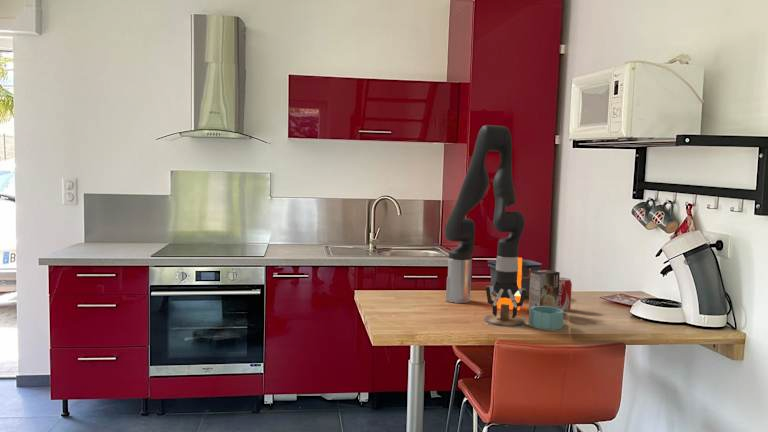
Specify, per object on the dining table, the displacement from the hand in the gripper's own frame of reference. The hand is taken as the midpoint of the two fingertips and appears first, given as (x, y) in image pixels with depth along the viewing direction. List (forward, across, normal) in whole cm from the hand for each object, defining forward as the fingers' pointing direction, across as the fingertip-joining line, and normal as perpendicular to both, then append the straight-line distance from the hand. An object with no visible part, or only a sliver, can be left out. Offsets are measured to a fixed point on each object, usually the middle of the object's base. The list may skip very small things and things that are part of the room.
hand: (504, 316), depth 223 cm
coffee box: (+3, +13, +19) cm, 23 cm away
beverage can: (+3, +20, +29) cm, 35 cm away
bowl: (+2, +14, 0) cm, 14 cm away
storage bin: (+3, +1, +47) cm, 47 cm away
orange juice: (+3, 0, +23) cm, 23 cm away
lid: (+2, 0, 0) cm, 2 cm away
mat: (+2, 0, 0) cm, 2 cm away
